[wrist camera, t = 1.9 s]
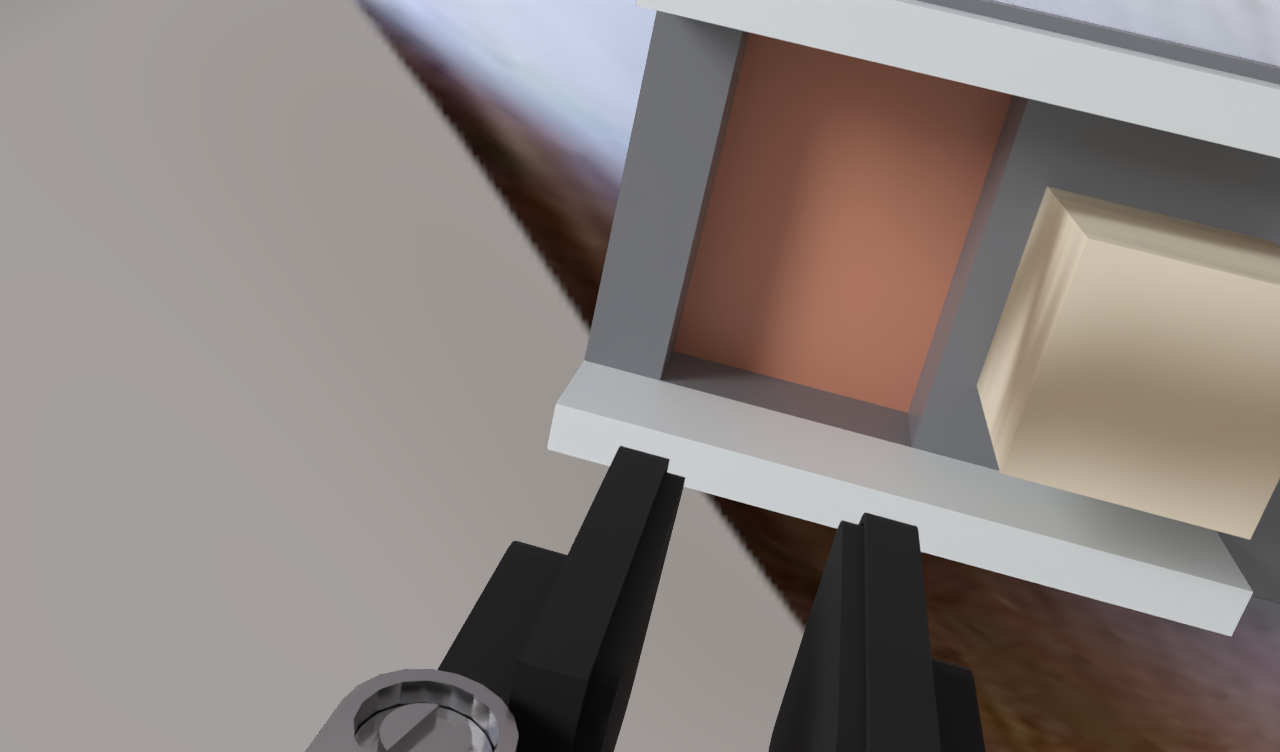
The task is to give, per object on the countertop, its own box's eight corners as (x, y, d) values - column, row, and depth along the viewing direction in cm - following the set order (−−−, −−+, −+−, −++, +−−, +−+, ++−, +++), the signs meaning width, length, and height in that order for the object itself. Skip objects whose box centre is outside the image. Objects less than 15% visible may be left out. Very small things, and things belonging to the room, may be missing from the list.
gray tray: (594, 379, 32) (544, 460, 27) (689, -70, 28) (651, -73, 23) (1393, 593, 30) (1500, 722, 25) (1635, 148, 26) (1826, 198, 21)
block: (1046, 185, 26) (1088, 238, 21) (1270, 240, 25) (1362, 306, 21) (976, 385, 28) (1000, 473, 23) (1184, 439, 27) (1250, 539, 23)
